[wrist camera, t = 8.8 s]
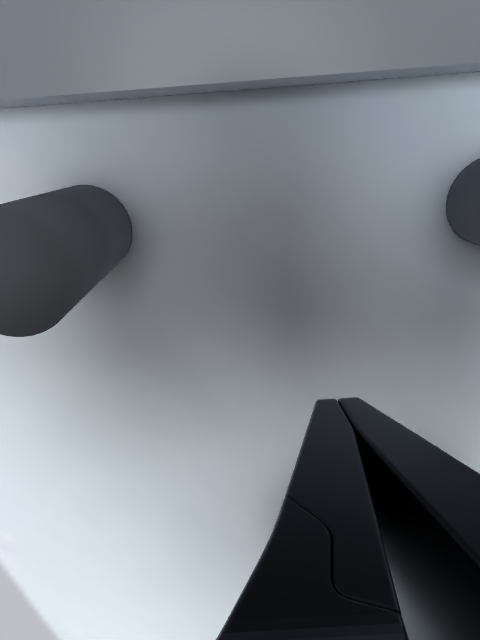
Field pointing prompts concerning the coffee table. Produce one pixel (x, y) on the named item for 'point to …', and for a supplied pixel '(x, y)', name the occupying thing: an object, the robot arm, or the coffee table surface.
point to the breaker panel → (223, 45)
